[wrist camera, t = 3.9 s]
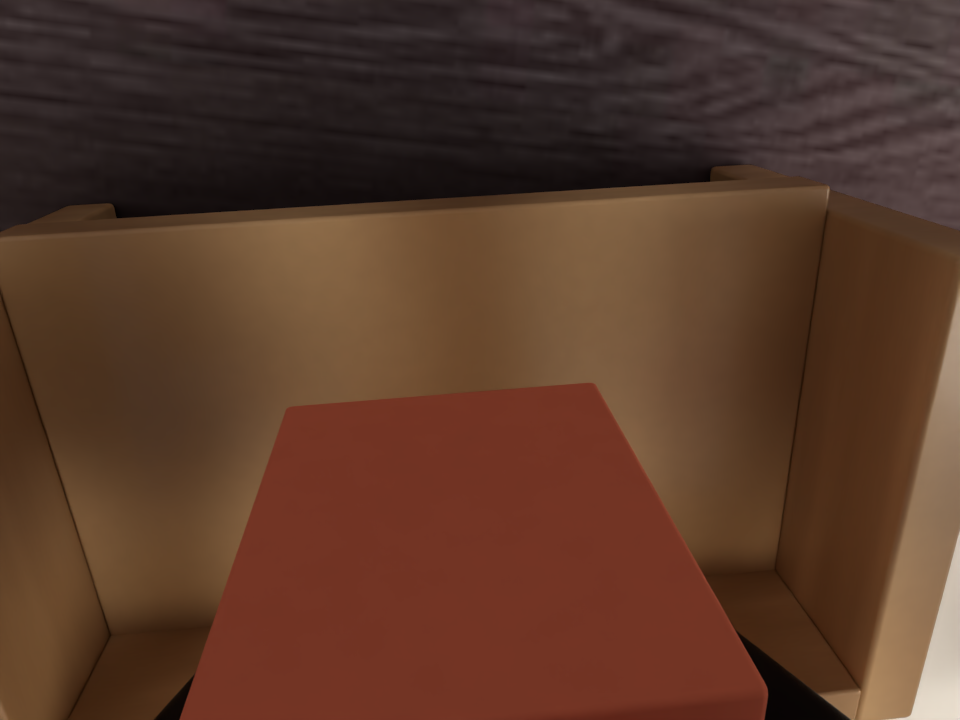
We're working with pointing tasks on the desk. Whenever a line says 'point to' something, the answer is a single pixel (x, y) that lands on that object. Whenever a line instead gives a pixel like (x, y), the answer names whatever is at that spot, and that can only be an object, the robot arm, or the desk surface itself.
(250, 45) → the desk surface
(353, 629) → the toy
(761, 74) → the desk surface
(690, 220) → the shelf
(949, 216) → the desk surface
